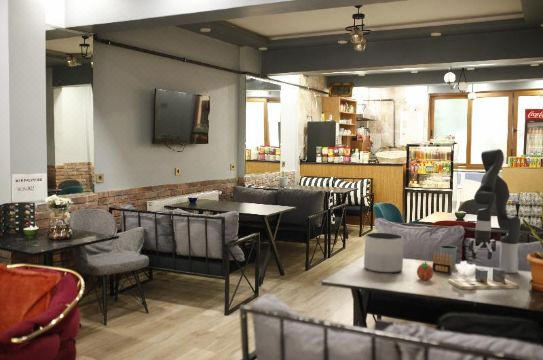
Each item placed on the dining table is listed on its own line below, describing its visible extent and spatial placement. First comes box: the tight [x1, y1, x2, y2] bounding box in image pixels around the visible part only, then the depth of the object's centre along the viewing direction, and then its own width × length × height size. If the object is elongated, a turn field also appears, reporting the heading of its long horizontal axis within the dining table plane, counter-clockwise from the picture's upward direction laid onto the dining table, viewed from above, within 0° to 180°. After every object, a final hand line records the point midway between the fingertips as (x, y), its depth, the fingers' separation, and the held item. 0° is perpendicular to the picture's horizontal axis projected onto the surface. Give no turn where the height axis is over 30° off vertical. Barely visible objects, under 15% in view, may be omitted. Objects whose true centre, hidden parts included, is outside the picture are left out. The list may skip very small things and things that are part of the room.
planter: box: [363, 232, 404, 274], centre depth 306 cm, size 22×22×20 cm
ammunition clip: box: [431, 251, 452, 275], centre depth 301 cm, size 11×2×12 cm, turn 55°
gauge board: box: [447, 267, 520, 290], centre depth 276 cm, size 32×14×8 cm, turn 98°
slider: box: [474, 267, 488, 283], centre depth 277 cm, size 4×8×6 cm, turn 8°
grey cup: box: [439, 244, 458, 269], centre depth 318 cm, size 10×10×12 cm
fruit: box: [416, 261, 434, 281], centre depth 284 cm, size 9×10×10 cm
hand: (481, 259), depth 278 cm, fingers open, 8 cm apart
